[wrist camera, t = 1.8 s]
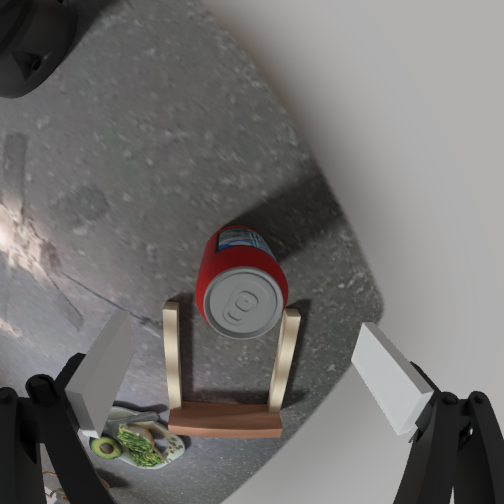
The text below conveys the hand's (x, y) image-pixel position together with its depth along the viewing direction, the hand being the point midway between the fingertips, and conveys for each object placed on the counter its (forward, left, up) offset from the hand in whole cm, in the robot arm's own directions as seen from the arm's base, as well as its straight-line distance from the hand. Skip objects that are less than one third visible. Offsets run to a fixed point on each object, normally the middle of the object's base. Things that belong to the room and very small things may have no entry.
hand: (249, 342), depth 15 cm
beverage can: (0, 0, -16) cm, 16 cm away
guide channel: (+15, 0, -16) cm, 22 cm away
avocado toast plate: (+34, -16, -17) cm, 41 cm away
